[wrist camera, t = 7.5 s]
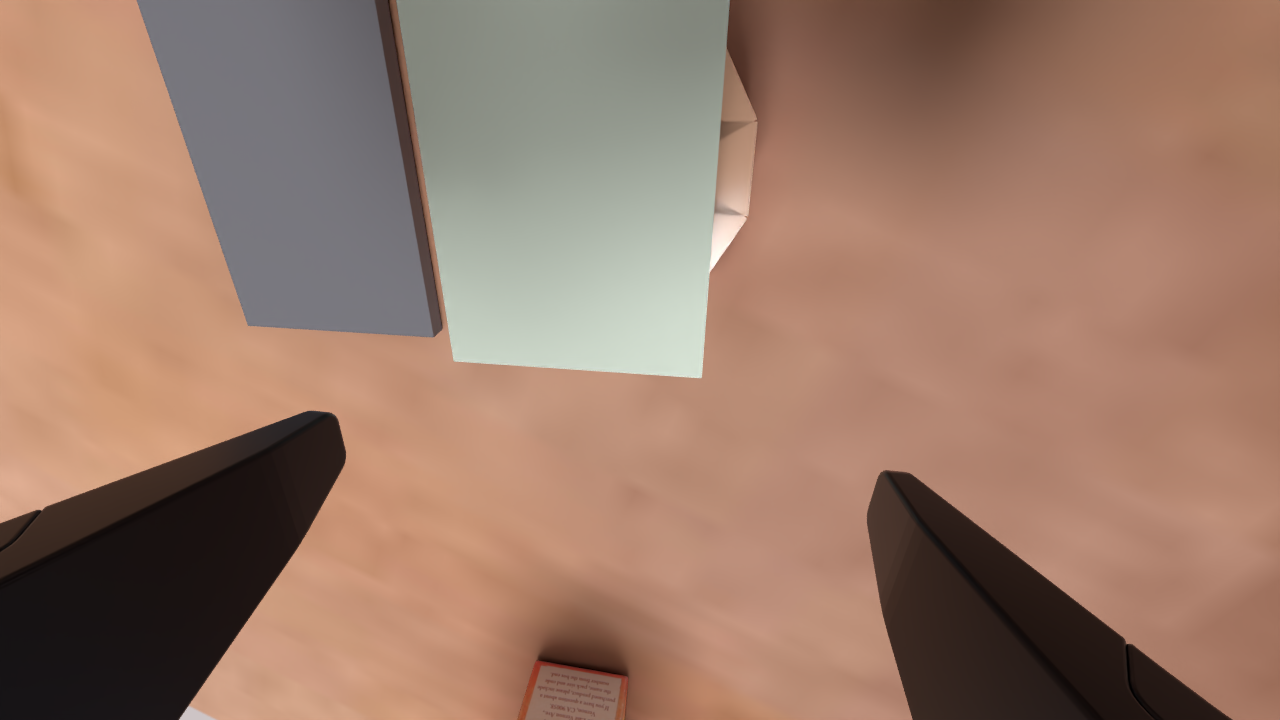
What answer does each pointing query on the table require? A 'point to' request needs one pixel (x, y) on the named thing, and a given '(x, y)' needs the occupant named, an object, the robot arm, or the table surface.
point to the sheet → (571, 175)
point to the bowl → (731, 162)
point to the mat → (302, 158)
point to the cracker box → (573, 694)
